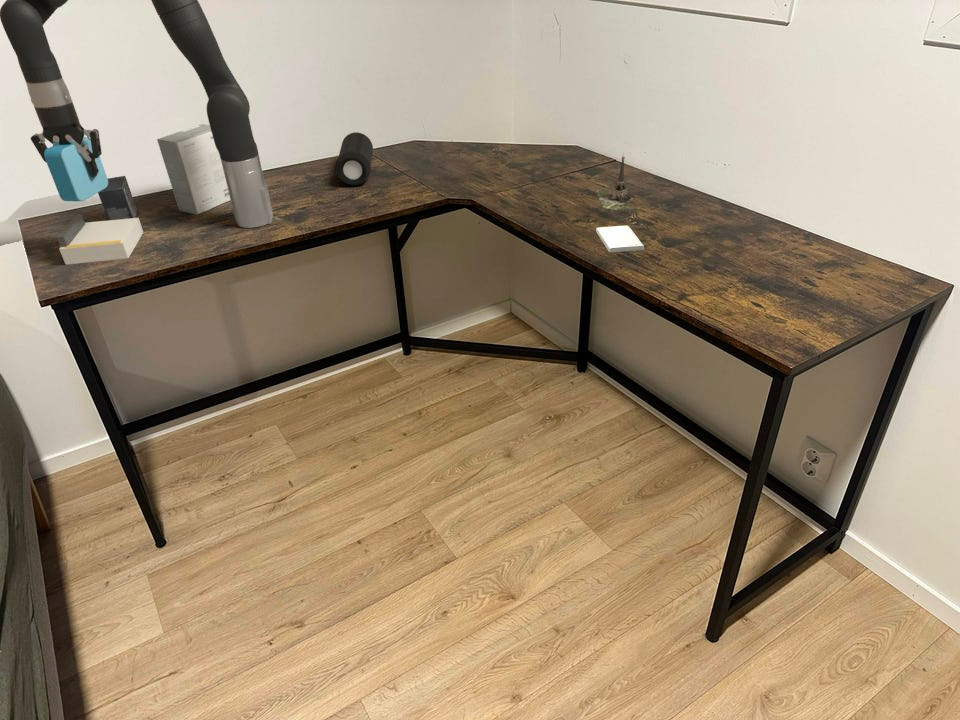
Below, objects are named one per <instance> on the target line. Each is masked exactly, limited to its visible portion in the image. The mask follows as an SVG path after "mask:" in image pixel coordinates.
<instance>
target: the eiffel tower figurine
mask: <svg viewBox="0 0 960 720" xmlns="http://www.w3.org/2000/svg"><path fill="white" fill-rule="evenodd" d="M624 154H625V152H623V154H622V156H621V163H620V168H619V169H620V171H619V176H618V180H617V183H616V185H615V188H613V189H612V192H611V194H610V195H609V196H608V197H604V195H607V194H608V192H607V191H605V190H595V193H596V195H597V198H598V201H599V203H600V205H601V207H602V208H604V209H608V210H620V211H623V210H624V211H625V210H626V211H627V210H628V211H630V210H641V208H640V207H633V206H624V205H625V204H627V203H630V202H631V201H633V200H634V199H633V198H632V197H631V196H632V195H630V193H629V192H628V189H627V188H626V184H625V182H626V181H625V175H624V174H625V172H624V170H625V155H624Z"/></svg>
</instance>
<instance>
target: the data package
mask: <svg viewBox="0 0 960 720" xmlns="http://www.w3.org/2000/svg"><path fill="white" fill-rule="evenodd" d="M83 142H84V143H85V144H86V145H87V146H88V148H89V150H90V151H91V152H92V146H91V140H89V139H88V138H87V136H84V137H83V140H82V143H81V145H80V146H81V147H83V146H84V143H83ZM44 157H45V160H46V162H45V163H46V164H47V167H48V170H49V173H50V175H51V178H52V180H53V182H54V185H55V187H56V191H57V193H58V194H59V197H60V199H61V200H62V201H63V202H84V201H85V202H86V200H88V199H89V198H91V197H93V196H94V195H96V194H98V192H100V191H101V190H103V189H105V188H106V187H107V186H108V176H107V174H106V171H105V168H104V164H103V162H102V159H101V155H100V156H99V157H98V158H96V159H95V162H96V164H97V167H98V170H99V173H98V174H97V176H96V177H93V178H92V177H91V175H90V172H89V169H88V166H87V164H86V162H87V161H86V159H85V158H84V157H83V156H82V155H81V154H80V153H78V151H77V150H76V148H75V145H74V144H63V145H59V146H53V145H51V146H50V147H47V149H46V150H45V152H44Z"/></svg>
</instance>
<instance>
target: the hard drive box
mask: <svg viewBox="0 0 960 720" xmlns="http://www.w3.org/2000/svg"><path fill="white" fill-rule="evenodd" d="M156 141H157V145H158V146H159V147H158V148H159V150H160V154H161V156H162V160H163V163H164V166H165V170H166V173H167V175H168V179H169V182H170V184H171V185H170V186H171V188H172V191H173V195H174V199H175V202H176V205H177V207H178V210H179V212H183V213H186V214H187V213H188V214H192V215H195V216H196V215H199V214H201V213H205V212H207V211H209V210H211V209H213V208H215V207H218V206H220V205H222V204H225V203H227V202H231V199H230V195H229V191H228V187H227V183H226V179H225V175H224V171H223V167H222V163H221V159H220V155H219V152H218V150H217V148H216V146H215V142H214V139H213V135H212V131H211V128H210V124H205V123H201V124H198V125H195V126H192V127H189V128H185V129H182V130H180V131H178V132H174V133H172V134H169V135H166V136H162V137H160V138H157V139H156Z"/></svg>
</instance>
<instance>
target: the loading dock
mask: <svg viewBox="0 0 960 720" xmlns="http://www.w3.org/2000/svg"><path fill="white" fill-rule="evenodd" d="M141 223H142V222H141V221H140V217H137V218H130V219H119V220H109V221H108V220H100V221H99V220H98V221H91V222H90V221H89V222H85V220H84V217H83V214H75V215H74V216H73V217H72V219H70V221H69V222H68V224H67V225H66V226H65V227H64V228H63V229H62V230H61V231H60V233H59V234H58V235H57V236H56V240H57V242H58V245H59V251H60V254H61V256H62V259H63V261H64V264H65V265H76V264H86V263H96V262H106V261H117V260H126V259H129V257H130V256H131V254H132V253H133V251H134V249H136V248H135V247H136V246H137V244H138V243H139V241H140V239H141V238H142V236H143V234H144V230H143V227H142V224H141Z"/></svg>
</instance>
